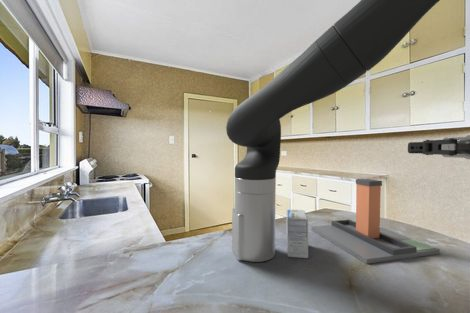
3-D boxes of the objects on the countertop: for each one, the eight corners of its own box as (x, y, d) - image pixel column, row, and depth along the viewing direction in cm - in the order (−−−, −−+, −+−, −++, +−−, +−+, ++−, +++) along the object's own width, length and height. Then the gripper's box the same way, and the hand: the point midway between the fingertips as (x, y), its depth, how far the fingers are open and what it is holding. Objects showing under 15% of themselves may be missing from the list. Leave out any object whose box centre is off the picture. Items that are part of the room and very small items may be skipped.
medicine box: (308, 259, 48) (308, 219, 47) (287, 257, 48) (287, 218, 48) (304, 244, 55) (304, 209, 55) (286, 242, 56) (286, 208, 56)
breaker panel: (366, 263, 46) (366, 253, 46) (311, 229, 65) (311, 222, 65) (439, 253, 50) (439, 244, 50) (367, 224, 70) (367, 217, 70)
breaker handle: (368, 239, 55) (369, 181, 55) (354, 232, 59) (355, 179, 59) (380, 237, 56) (382, 181, 56) (366, 231, 60) (367, 178, 60)
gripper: (589, 119, 30) (444, 130, 47) (520, 115, 27) (390, 128, 44) (587, 174, 30) (443, 165, 47) (518, 176, 27) (389, 166, 44)
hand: (418, 147), depth 45 cm, fingers open, 4 cm apart
